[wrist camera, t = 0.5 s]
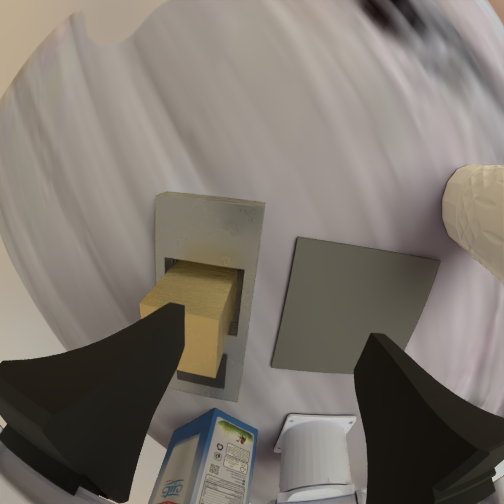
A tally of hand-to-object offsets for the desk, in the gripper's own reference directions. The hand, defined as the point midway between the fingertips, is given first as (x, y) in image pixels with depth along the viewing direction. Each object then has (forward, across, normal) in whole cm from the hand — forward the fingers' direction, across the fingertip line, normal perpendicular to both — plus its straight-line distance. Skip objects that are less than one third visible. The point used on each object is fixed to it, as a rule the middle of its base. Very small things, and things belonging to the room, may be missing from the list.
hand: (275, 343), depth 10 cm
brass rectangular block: (+10, +5, +4) cm, 12 cm away
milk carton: (+10, +4, +25) cm, 27 cm away
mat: (+10, -7, +4) cm, 13 cm away
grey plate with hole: (+10, +5, +6) cm, 12 cm away
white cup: (+10, -15, -7) cm, 19 cm away
